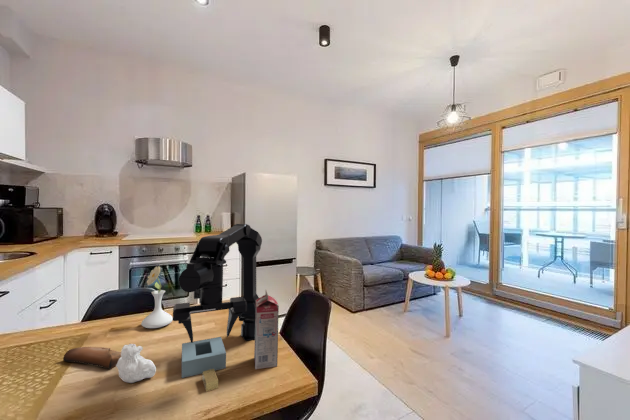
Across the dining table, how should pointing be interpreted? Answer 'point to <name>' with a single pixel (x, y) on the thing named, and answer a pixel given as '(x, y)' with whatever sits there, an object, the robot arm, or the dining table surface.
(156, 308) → the flower in vase
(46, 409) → the dining table surface
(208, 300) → the robot arm
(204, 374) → the tan wooden post
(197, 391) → the dining table surface
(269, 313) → the juice carton
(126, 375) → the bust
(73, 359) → the sunglasses case
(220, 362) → the blue-grey hollow frame
